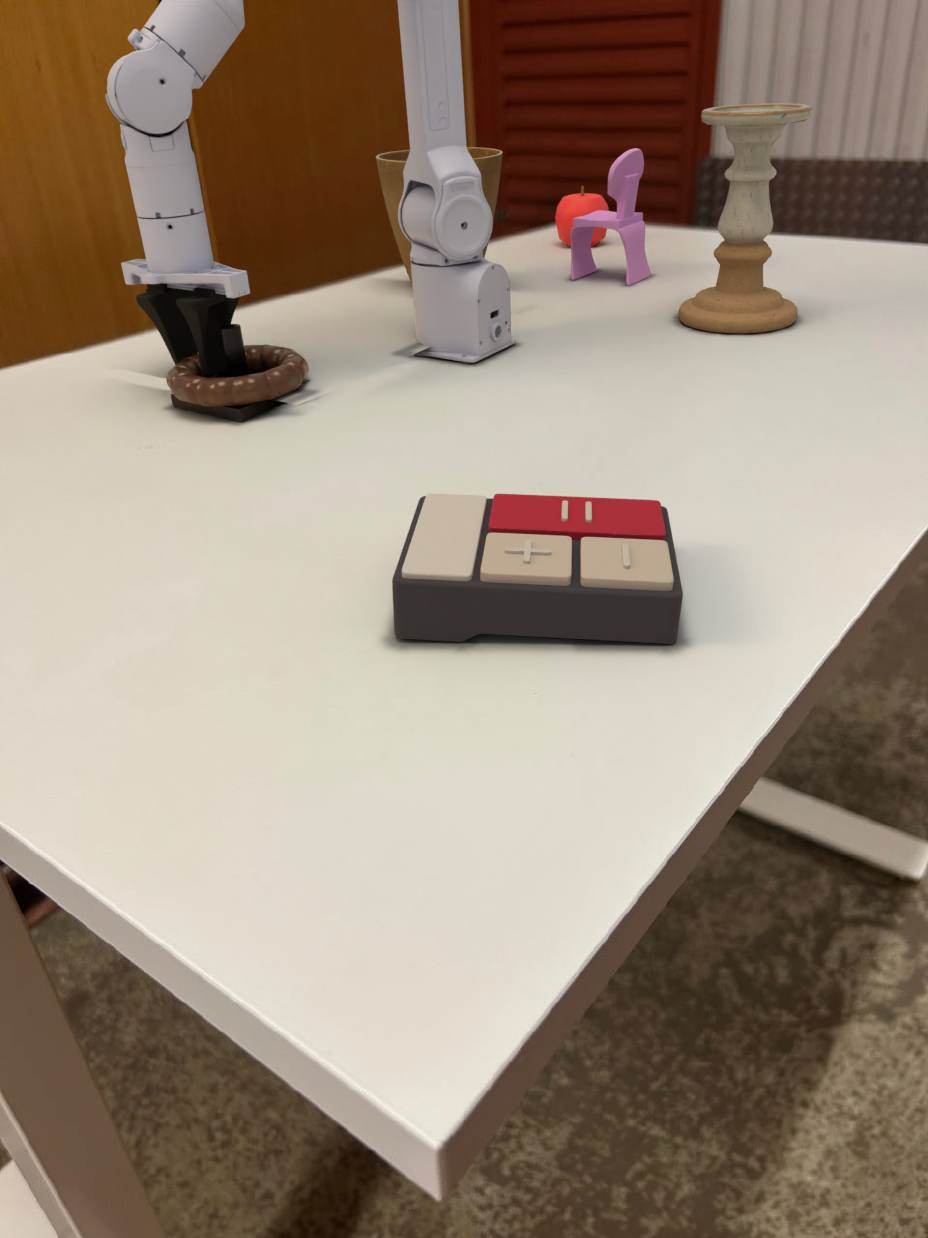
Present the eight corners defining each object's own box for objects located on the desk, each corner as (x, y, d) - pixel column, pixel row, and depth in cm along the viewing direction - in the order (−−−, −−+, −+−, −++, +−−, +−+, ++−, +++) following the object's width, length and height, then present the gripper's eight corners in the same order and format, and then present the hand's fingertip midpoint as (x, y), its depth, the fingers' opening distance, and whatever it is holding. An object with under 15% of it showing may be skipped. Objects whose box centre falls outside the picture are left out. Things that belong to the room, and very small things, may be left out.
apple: (552, 250, 140) (552, 191, 136) (557, 240, 147) (557, 183, 142) (607, 249, 139) (609, 189, 134) (609, 238, 145) (611, 181, 141)
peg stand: (312, 392, 89) (302, 319, 86) (241, 422, 83) (227, 345, 79) (244, 379, 94) (232, 309, 90) (172, 407, 88) (156, 333, 84)
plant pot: (419, 313, 112) (408, 163, 104) (370, 290, 124) (356, 154, 115) (528, 294, 118) (526, 150, 109) (471, 274, 129) (465, 142, 121)
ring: (336, 377, 89) (333, 351, 88) (238, 418, 80) (233, 390, 79) (242, 360, 95) (238, 336, 94) (142, 397, 87) (136, 370, 85)
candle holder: (667, 331, 100) (680, 114, 90) (689, 302, 110) (703, 104, 99) (789, 337, 96) (818, 111, 86) (801, 307, 106) (828, 100, 95)
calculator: (686, 583, 48) (389, 569, 49) (676, 655, 50) (392, 639, 51) (668, 493, 57) (419, 482, 58) (660, 556, 59) (421, 545, 61)
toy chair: (595, 268, 128) (597, 143, 120) (655, 273, 124) (661, 144, 116) (563, 281, 123) (563, 151, 115) (625, 287, 118) (629, 152, 110)
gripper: (80, 216, 84) (117, 370, 91) (192, 225, 76) (223, 392, 83) (144, 204, 88) (175, 351, 95) (255, 211, 81) (280, 369, 88)
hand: (201, 368), depth 90 cm, fingers open, 3 cm apart
